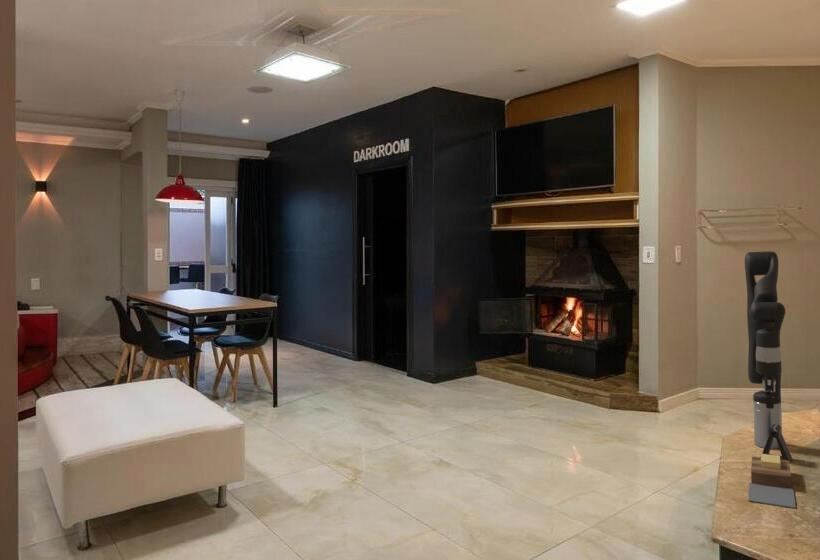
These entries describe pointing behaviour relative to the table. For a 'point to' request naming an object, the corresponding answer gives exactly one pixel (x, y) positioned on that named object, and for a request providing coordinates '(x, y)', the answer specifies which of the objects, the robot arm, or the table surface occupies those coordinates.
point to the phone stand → (780, 441)
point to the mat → (772, 495)
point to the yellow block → (770, 461)
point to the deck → (771, 474)
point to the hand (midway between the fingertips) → (769, 405)
